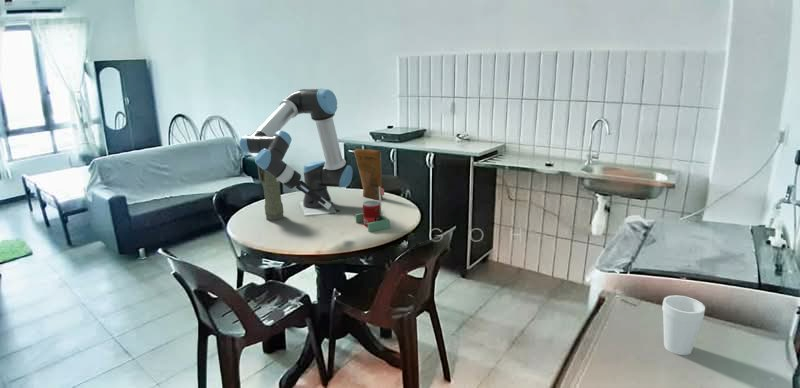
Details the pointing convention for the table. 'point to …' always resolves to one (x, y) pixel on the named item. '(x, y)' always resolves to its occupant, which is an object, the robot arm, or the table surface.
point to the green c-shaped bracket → (377, 225)
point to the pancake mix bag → (369, 171)
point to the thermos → (271, 195)
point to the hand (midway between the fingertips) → (329, 206)
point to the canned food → (371, 212)
